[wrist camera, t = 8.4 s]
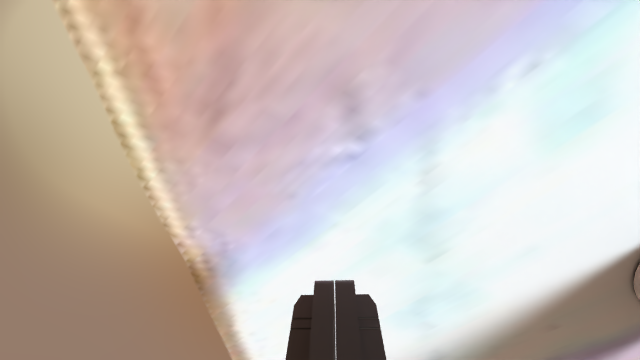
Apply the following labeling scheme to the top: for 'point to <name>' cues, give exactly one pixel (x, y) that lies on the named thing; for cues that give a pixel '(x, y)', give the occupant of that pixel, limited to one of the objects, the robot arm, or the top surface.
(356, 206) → the top surface
